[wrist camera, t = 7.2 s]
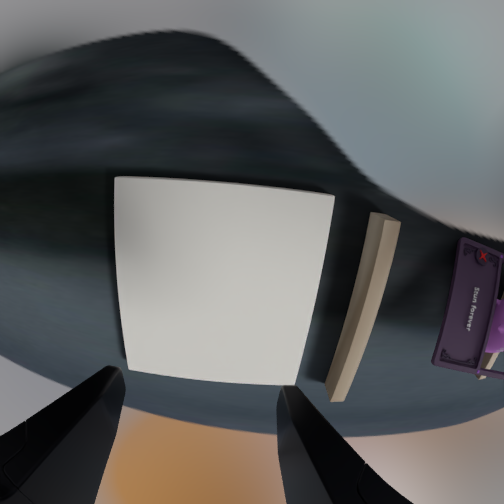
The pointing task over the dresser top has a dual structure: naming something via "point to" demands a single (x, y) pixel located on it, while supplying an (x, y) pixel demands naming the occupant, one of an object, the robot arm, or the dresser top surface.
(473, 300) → the game card
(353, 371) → the rails
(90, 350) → the dresser top surface
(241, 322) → the pad
